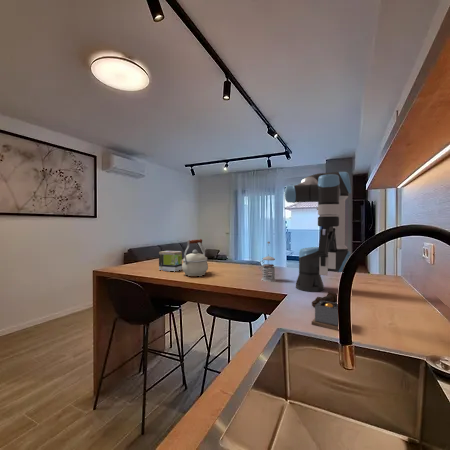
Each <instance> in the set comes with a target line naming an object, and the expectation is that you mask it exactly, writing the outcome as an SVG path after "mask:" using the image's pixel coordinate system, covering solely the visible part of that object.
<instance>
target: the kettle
mask: <svg viewBox="0 0 450 450" xmlns="http://www.w3.org/2000/svg"><path fill="white" fill-rule="evenodd" d="M186 243H187V246H186V249H185V250H184V252H183V258H182V270H181V271H182V272H183V273H184V275H185V276H186V275H188V276H187V277H189V276H199V277H203V276H202V275H204V276H205V275H206V272H208V269H209V264H208V257H207V256H206V249H205V247H204V246H203V239H202V238H200V239H191V240H190V239H189V240H187V242H186ZM190 244H194V245H195V244H200V247H201V248H202V252H203V253H199V251H198V250H197V249H193V250H192V253H188V254H187V252H188V251H189V248H190Z"/></svg>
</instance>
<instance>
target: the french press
mask: <svg viewBox="0 0 450 450" xmlns="http://www.w3.org/2000/svg"><path fill="white" fill-rule="evenodd" d="M267 244H268V245H270V244H271V241H267ZM275 260H276V258H274V257H273V256H270V255H268V256H264V257H263V258H262V260H261V261H260V262H259V263H258V265H259V267H258V269H259V270H260V271H261V272H262V278H261V279H260V280H261V281H262V280H263V281H262V282H266V281H268V282H269V283H271V282H277V279H276V277H275V270H276V269H275V265H274V264H272V263H271V264H270V261H275ZM265 261H268V262H267V263H265ZM262 263H263V267H262V266H261V264H262Z"/></svg>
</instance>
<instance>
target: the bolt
mask: <svg viewBox="0 0 450 450" xmlns="http://www.w3.org/2000/svg"><path fill="white" fill-rule="evenodd" d="M337 296H338V294H337V293H336V292H333V291H328V293H326V296H325V295H324V296H323V297H321V296H317V297H316V298H315V300H312V302H311V307H313V308H314V309H315V305H316V304H317V303H318V302H319V301H320V300H323V301H329V302H335V303H338V301H337Z"/></svg>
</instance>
